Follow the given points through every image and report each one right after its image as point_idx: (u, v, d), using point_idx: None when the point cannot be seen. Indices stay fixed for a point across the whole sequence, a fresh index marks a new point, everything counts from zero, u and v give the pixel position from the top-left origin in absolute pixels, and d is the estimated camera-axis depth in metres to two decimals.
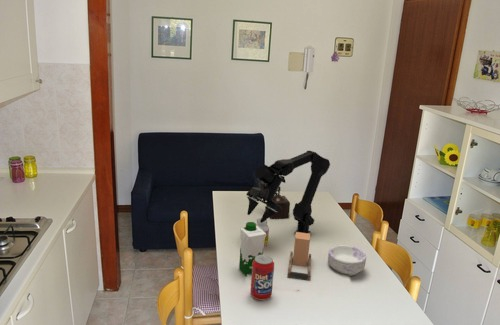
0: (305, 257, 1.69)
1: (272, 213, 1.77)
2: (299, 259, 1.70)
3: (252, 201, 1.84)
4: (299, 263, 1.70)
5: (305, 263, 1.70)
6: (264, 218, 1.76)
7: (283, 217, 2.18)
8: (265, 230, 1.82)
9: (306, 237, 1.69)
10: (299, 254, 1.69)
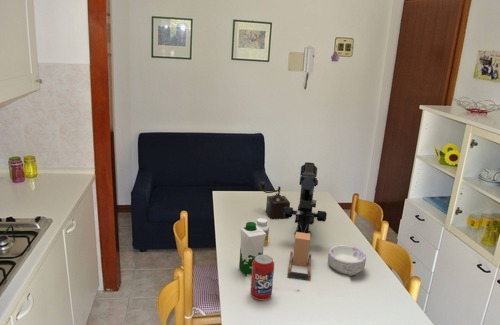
0: (305, 257, 1.69)
1: (308, 222, 1.82)
2: (299, 259, 1.70)
3: (302, 218, 1.80)
4: (299, 263, 1.70)
5: (305, 263, 1.70)
6: (305, 227, 1.79)
7: (283, 217, 2.18)
8: (265, 230, 1.82)
9: (306, 237, 1.69)
10: (299, 254, 1.69)
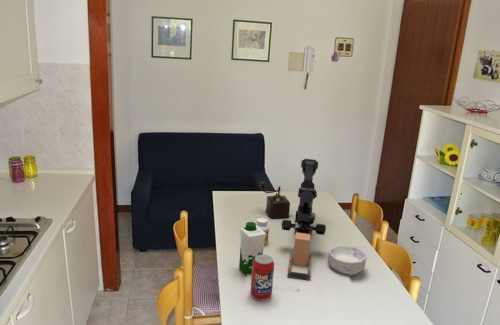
0: (305, 257, 1.69)
1: None
2: (299, 260, 1.69)
3: (301, 231, 1.76)
4: (299, 263, 1.70)
5: (305, 263, 1.69)
6: None
7: (283, 217, 2.18)
8: (265, 230, 1.82)
9: (306, 237, 1.68)
10: (299, 254, 1.69)
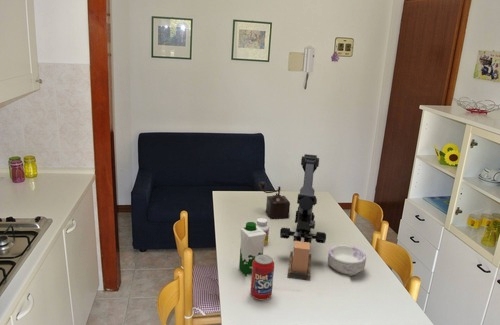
0: (305, 267, 1.61)
1: None
2: (299, 270, 1.62)
3: (300, 239, 1.69)
4: None
5: None
6: None
7: (283, 217, 2.18)
8: (265, 230, 1.82)
9: (306, 246, 1.61)
10: (298, 264, 1.61)
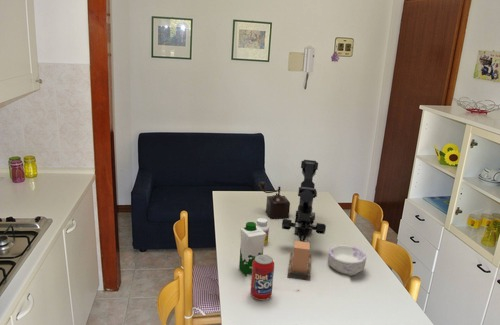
0: (305, 267, 1.61)
1: (307, 234, 1.79)
2: (299, 270, 1.62)
3: (301, 230, 1.77)
4: None
5: None
6: (304, 240, 1.76)
7: (283, 217, 2.18)
8: (265, 230, 1.82)
9: (306, 246, 1.61)
10: (298, 264, 1.61)
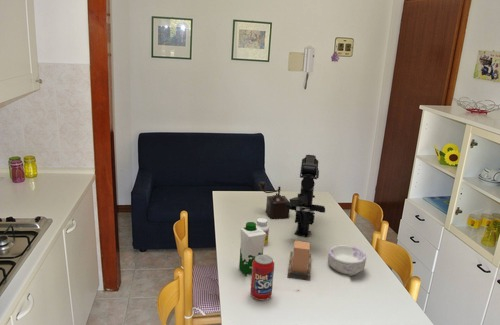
0: (305, 267, 1.61)
1: (310, 215, 1.82)
2: (299, 270, 1.62)
3: (301, 213, 1.82)
4: None
5: None
6: (305, 222, 1.81)
7: (283, 217, 2.18)
8: (265, 230, 1.82)
9: (306, 246, 1.61)
10: (298, 264, 1.61)
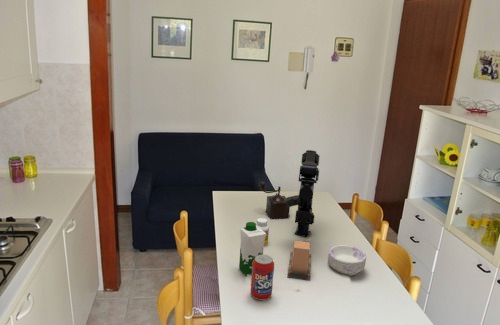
0: (305, 267, 1.61)
1: None
2: (299, 270, 1.62)
3: None
4: None
5: None
6: (303, 221, 1.82)
7: (283, 217, 2.18)
8: (265, 230, 1.82)
9: (306, 246, 1.61)
10: (298, 264, 1.61)
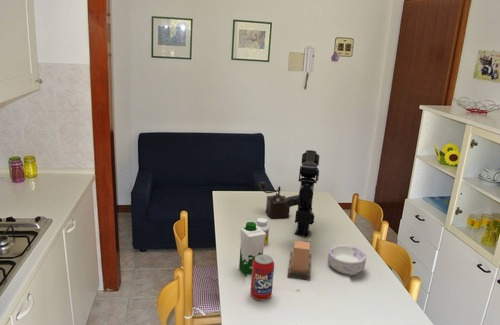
0: (305, 267, 1.61)
1: None
2: (299, 270, 1.62)
3: None
4: None
5: None
6: (303, 221, 1.82)
7: (283, 217, 2.18)
8: (265, 230, 1.82)
9: (306, 246, 1.61)
10: (298, 264, 1.61)
